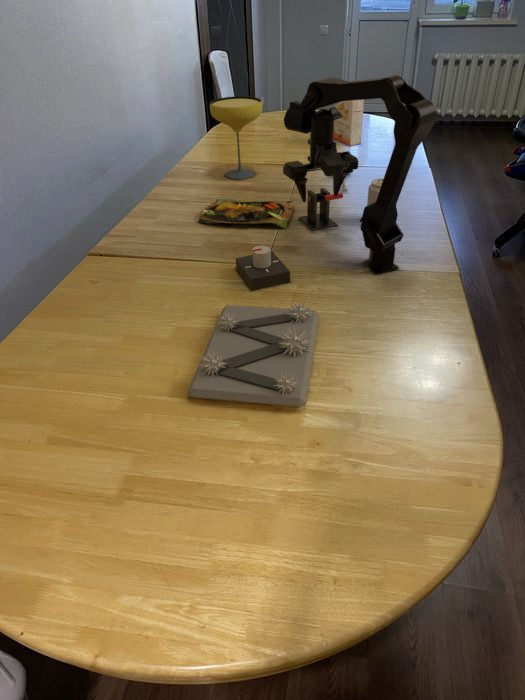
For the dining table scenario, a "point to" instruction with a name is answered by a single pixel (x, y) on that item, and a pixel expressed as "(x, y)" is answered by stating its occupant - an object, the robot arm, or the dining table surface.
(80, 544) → the dining table surface
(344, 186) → the soupspoon
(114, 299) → the dining table surface
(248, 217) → the prepared meal
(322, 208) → the dark grey lever stand
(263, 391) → the decorative plate
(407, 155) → the robot arm
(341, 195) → the toast lever
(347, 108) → the cracker box
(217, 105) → the cocktail glass
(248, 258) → the dial panel
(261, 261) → the knob
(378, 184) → the can
